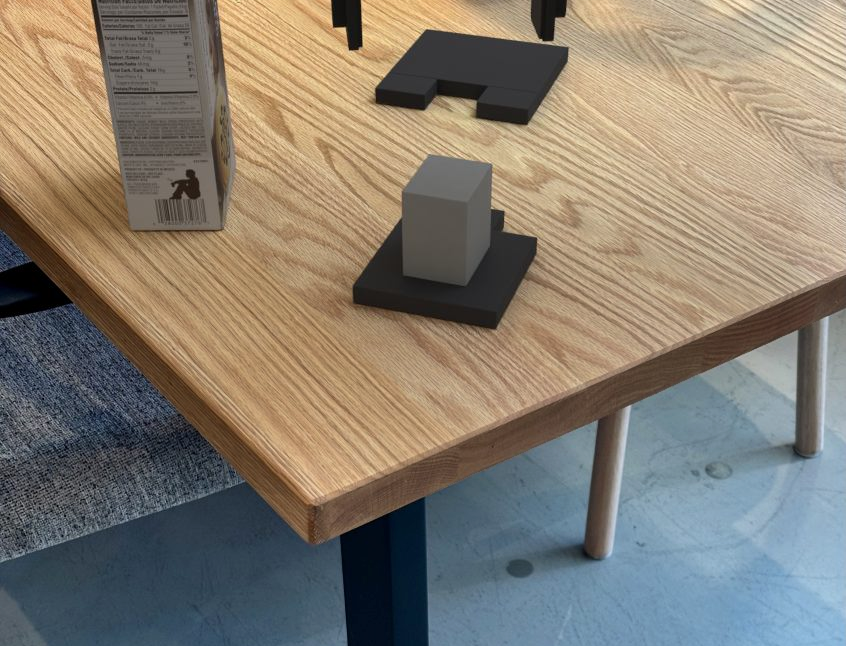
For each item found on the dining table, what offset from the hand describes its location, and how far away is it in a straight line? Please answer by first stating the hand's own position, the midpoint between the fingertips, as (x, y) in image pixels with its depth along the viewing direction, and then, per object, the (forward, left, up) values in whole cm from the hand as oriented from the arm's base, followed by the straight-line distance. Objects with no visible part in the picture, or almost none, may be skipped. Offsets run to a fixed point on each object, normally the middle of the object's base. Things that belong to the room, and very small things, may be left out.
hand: (448, 35), depth 67 cm
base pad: (+8, -32, -17) cm, 37 cm away
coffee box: (+21, -8, -17) cm, 29 cm away
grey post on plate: (+1, -6, -17) cm, 18 cm away
